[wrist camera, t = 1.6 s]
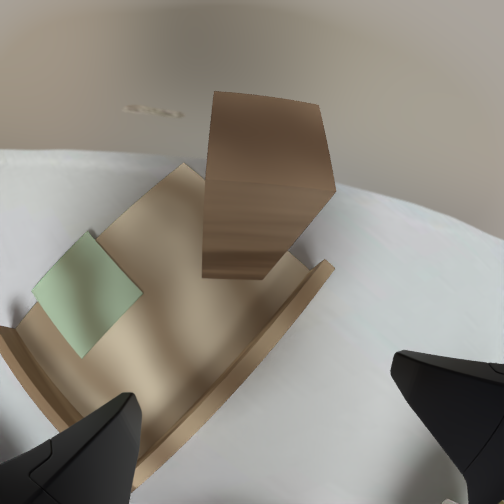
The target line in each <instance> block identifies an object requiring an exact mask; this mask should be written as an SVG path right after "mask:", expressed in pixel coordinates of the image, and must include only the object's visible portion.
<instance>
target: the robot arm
mask: <svg viewBox="0 0 504 504" xmlns="http://www.w3.org/2000/svg"><path fill="white" fill-rule="evenodd" d="M390 372H391V376H392V378H393V380H394V382H395V383H396V385H397V386H398V388H399V390H400V391H401V393H402V395H403V396H404V398H405V400H406V401H407V403H408V404H409V405H410V407H411V408H412V409H413V411H414V412H415V413H416V414H417V416H418V417H419V418H420V420H421V421H422V422H423V423H424V425H425V426H426V427H427V429H428V430H429V431H430V432H431V434H432V435H433V436H434V438H435V439H436V440H437V442H438V443H439V444H440V446H441V447H442V448H443V449H444V451H445V452H446V453H447V455H448V456H449V457H450V459H451V460H452V461H453V463H454V464H455V466H456V467H457V468H458V470H459V471H460V472H461V474H462V475H463V476H464V478H465V480H466V483H467V489H468V503H469V504H499V503H500V502H501V501H502V500H503V501H504V364H497V363H486V362H478V361H471V360H463V359H457V358H450V357H443V356H437V355H431V354H425V353H419V352H414V351H408V350H402V351H399V352H396V353H395V354H394V357H393V362H392V366H391V370H390ZM141 424H142V410H141V408H140V405H139V403H138V400H137V398H136V396H135V394H134V393H133V392H123V393H121V394H119V395H118V396H116V397H115V398H113V399H112V400H110V401H109V402H107V403H106V404H104V405H103V406H101V407H100V408H98V409H97V410H95V411H93V412H92V413H90V414H89V415H87V416H86V417H84V418H83V419H81V420H80V421H78V422H76V423H75V424H73V425H72V426H70V427H69V428H67V429H65V430H64V431H62V432H61V433H59V434H57V435H56V436H54V437H53V438H51V439H48V440H47V441H45V442H44V443H42V444H40V445H39V446H37V447H35V448H33V449H32V450H30V451H28V452H26V453H24V454H22V455H20V456H17V457H15V458H13V459H11V460H9V461H6V462H4V463H2V464H0V504H129V500H130V494H131V489H132V484H133V478H134V473H135V468H136V464H137V459H138V454H139V448H140V436H141Z"/></svg>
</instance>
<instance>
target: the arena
mask: <svg viewBox="0 0 504 504" xmlns="http://www.w3.org/2000/svg"><path fill="white" fill-rule="evenodd" d="M204 194H205V180H204V179H203V178H202V177H201V176H199V175H198V174H197V173H196V172H195V171H193V170H192V169H191V168H190V167H189V166H187V165H186V164H185V163H183V164H181V165H180V166H179V167H178V168H176V169H175V170H174V171H173V172H171V173H170V174H169V175H168V176H166V177H165V178H164V179H163V180H161V181H160V182H159V183H158V184H157V185H155V186H154V187H153V188H152V189H151V190H149V191H148V192H147V193H146V194H145V195H144V196H142V197H141V198H140V199H139V200H138V201H137V202H135V203H134V204H133V205H132V206H131V207H130V208H129V209H128V210H126V211H125V212H124V213H123V214H122V215H121V216H120V217H119V218H118V219H117V220H115V221H114V222H113V223H112V224H111V225H110V226H109V227H108V228H107V229H106V230H105V231H104V232H103V233H102V234H101V235H100V236H99V237H98V238H96V239H94V238H93V237H92V236H91V235H90V233H89V232H88V231H87V232H86V233H85V234H84V235H83V236H82V237H81V238H80V239H79V240H78V241H77V242H76V243H75V244H74V245H73V246H72V247H71V248H70V249H69V250H68V251H67V252H66V253H65V254H64V255H63V256H62V257H61V258H60V259H59V260H58V262H57V263H56V264H55V265H54V266H53V267H52V268H51V269H50V270H49V271H48V272H47V274H46V275H45V276H44V277H43V278H42V279H41V280H40V281H39V283H38V284H37V285H36V286H35V287H34V288H33V290H32V293H33V294H34V296H35V297H36V299H37V300H38V302H37V303H36V304H35V305H34V306H33V307H32V309H31V310H30V311H29V312H28V314H27V315H26V316H25V317H24V318H23V320H22V321H21V322H20V324H19V325H18V326H17V327H16V329H13V328H9V327H4V326H0V353H1V355H2V357H3V358H4V360H5V361H6V363H7V365H8V366H9V368H10V369H11V371H12V372H13V374H14V375H15V377H16V378H17V380H18V381H19V382H20V384H21V385H22V387H23V388H24V389H25V391H26V392H27V393H28V395H29V396H30V397H31V399H32V400H33V401H34V403H35V404H36V405H37V406H38V408H39V409H40V410H41V411H42V413H43V414H44V415H45V416H46V417H47V419H48V420H49V421H50V422H51V423H52V424H53V426H54V427H55V428H56V429H57V430H58V431H59V432H60V433H61V432H62V431H64V430H65V429H67V428H69V427H70V426H72V425H73V424H75V423H76V422H78V421H80V420H81V419H83V418H84V417H86V416H87V415H89V414H90V413H92V412H93V411H95V410H97V409H98V408H100V407H101V406H103V405H104V404H106V403H107V402H109V401H110V400H112V399H113V398H115V397H116V396H118V395H119V394H121V393H123V392H133V393H134V394H135V396H136V398H137V400H138V403H139V405H140V408H141V410H142V424H141V436H140V448H139V454H138V459H137V464H136V468H135V473H134V478H133V484H132V489H131V493H132V492H133V491H134V490H135V489H136V488H138V487H139V486H140V485H141V484H142V483H143V482H144V481H145V480H147V479H148V478H149V477H150V476H151V475H152V474H153V473H154V472H155V471H157V470H158V469H159V468H160V467H161V466H162V465H163V464H164V463H165V462H166V461H167V460H168V459H169V458H170V457H172V456H173V455H174V454H175V453H176V452H177V451H178V450H179V449H180V448H181V447H182V446H183V445H184V444H185V443H186V442H187V441H188V440H189V439H190V438H191V437H192V436H193V435H194V434H195V433H196V432H197V431H198V430H199V429H200V428H201V427H202V426H203V425H204V424H205V423H206V422H207V421H208V420H209V419H210V418H211V417H212V416H213V414H214V413H215V412H216V411H217V410H218V409H219V408H220V407H221V406H222V405H223V404H224V403H225V402H226V401H227V400H228V398H229V397H230V396H231V395H232V394H233V393H234V392H235V391H236V390H237V389H238V387H239V386H240V385H241V384H242V383H243V382H244V381H245V380H246V379H247V377H248V376H249V375H250V374H251V373H252V372H253V371H254V369H255V368H256V367H257V366H258V365H259V364H260V363H261V361H262V360H263V359H264V358H265V357H266V356H267V354H268V353H269V352H270V351H271V350H272V348H273V347H274V346H275V345H276V344H277V342H278V341H279V340H280V339H281V338H282V336H283V335H284V334H285V333H286V332H287V330H288V329H289V328H290V327H291V325H292V324H293V323H294V322H295V320H296V319H297V318H298V317H299V315H300V314H301V313H302V312H303V310H304V309H305V308H306V306H307V305H308V304H309V303H310V301H311V300H312V299H313V297H314V296H315V295H316V294H317V292H318V291H319V290H320V288H321V287H322V286H323V284H324V283H325V282H326V280H327V279H328V278H329V276H330V275H331V274H332V272H333V271H334V270H335V268H334V267H333V266H332V265H331V264H330V263H329V262H328V261H327V260H325V259H324V260H323V261H322V262H320V263H319V264H318V265H317V266H315V267H314V268H313V269H311V270H309V269H308V268H307V267H305V266H304V265H303V264H302V263H301V262H300V261H299V260H298V259H296V258H295V257H294V256H293V255H292V254H291V253H290V252H288V251H287V252H286V253H285V254H284V255H283V256H282V258H281V259H280V260H279V261H278V262H277V264H276V265H275V266H274V267H273V268H272V269H271V271H270V272H269V273H268V274H267V275H266V277H265V278H264V279H263V280H236V279H208V278H202V242H203V215H204Z"/></svg>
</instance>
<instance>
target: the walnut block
mask: <svg viewBox="0 0 504 504" xmlns="http://www.w3.org/2000/svg"><path fill="white" fill-rule="evenodd" d="M335 192H336V187H335V181H334V176H333V170H332V165H331V160H330V154H329V150H328V144H327V140H326V135H325V131H324V126H323V121H322V117H321V113H320V108H319V105H316V104H311V103H306V102H300V101H294V100H288V99H282V98H275V97H268V96H259V95H252V94H242V93H232V92H219V91H214V97H213V105H212V114H211V124H210V133H209V143H208V154H207V165H206V177H205V194H204V215H203V242H202V278H208V279H236V280H263V279H264V278H265V277H266V275H267V274H268V273H269V272H270V271H271V269H272V268H273V267H274V266H275V265H276V264H277V262H278V261H279V260H280V259H281V258H282V256H283V255H284V254H285V253H286V252H287V251H288V249H289V248H290V247H291V246H292V245H293V243H294V242H295V241H296V240H297V239H298V237H299V236H300V235H301V234H302V233H303V231H304V230H305V229H306V228H307V227H308V225H309V224H310V223H311V222H312V221H313V219H314V218H315V217H316V216H317V214H318V213H319V212H320V211H321V210H322V208H323V207H324V206H325V205H326V203H327V202H328V201H329V200H330V199H331V197H332V196H333V195H334V194H335Z"/></svg>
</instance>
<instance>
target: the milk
mask: <svg viewBox="0 0 504 504" xmlns="http://www.w3.org/2000/svg"><path fill="white" fill-rule="evenodd" d="M441 504H458V503H456V502H454V501H452V500H449V499H446V500H445V501H443V502H442V503H441Z"/></svg>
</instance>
